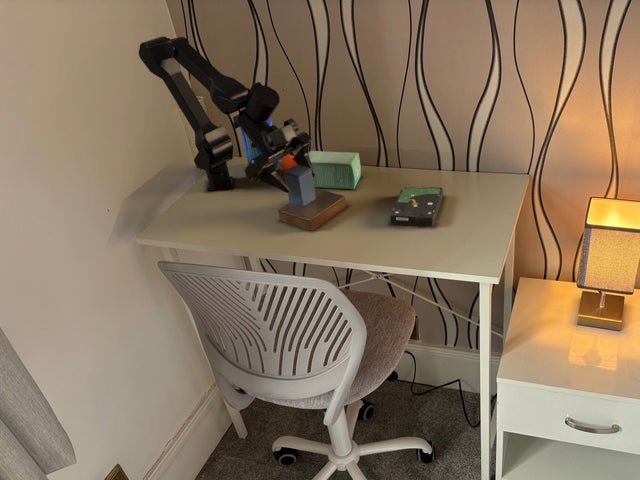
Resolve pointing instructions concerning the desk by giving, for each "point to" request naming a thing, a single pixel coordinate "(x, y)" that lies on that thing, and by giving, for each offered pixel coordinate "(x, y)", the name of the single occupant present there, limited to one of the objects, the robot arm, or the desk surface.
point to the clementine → (288, 162)
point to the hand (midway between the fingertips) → (301, 183)
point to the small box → (300, 185)
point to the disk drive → (417, 206)
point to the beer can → (254, 152)
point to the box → (335, 169)
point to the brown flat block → (313, 210)
